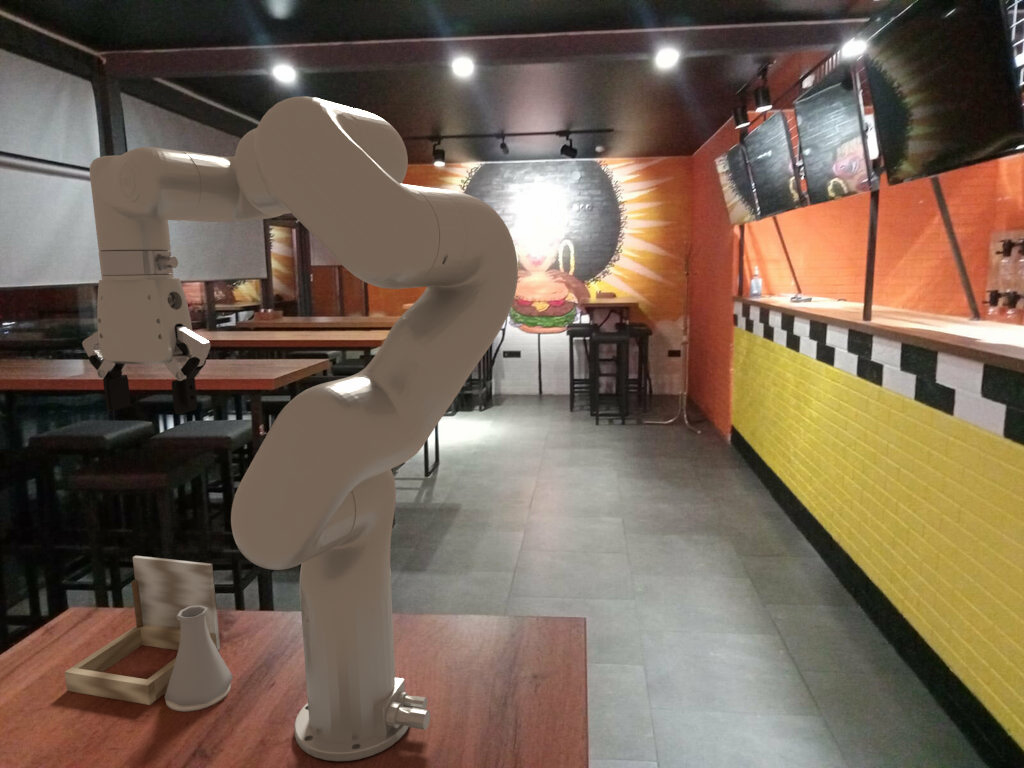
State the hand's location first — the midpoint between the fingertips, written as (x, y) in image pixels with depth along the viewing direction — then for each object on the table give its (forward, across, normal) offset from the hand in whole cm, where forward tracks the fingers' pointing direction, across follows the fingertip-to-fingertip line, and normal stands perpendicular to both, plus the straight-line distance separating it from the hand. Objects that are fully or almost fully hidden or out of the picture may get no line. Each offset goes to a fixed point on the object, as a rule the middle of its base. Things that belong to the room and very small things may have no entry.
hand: (152, 410), depth 87 cm
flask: (+33, -7, +5) cm, 34 cm away
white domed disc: (+33, -7, +5) cm, 34 cm away
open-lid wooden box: (+33, +3, +2) cm, 34 cm away
